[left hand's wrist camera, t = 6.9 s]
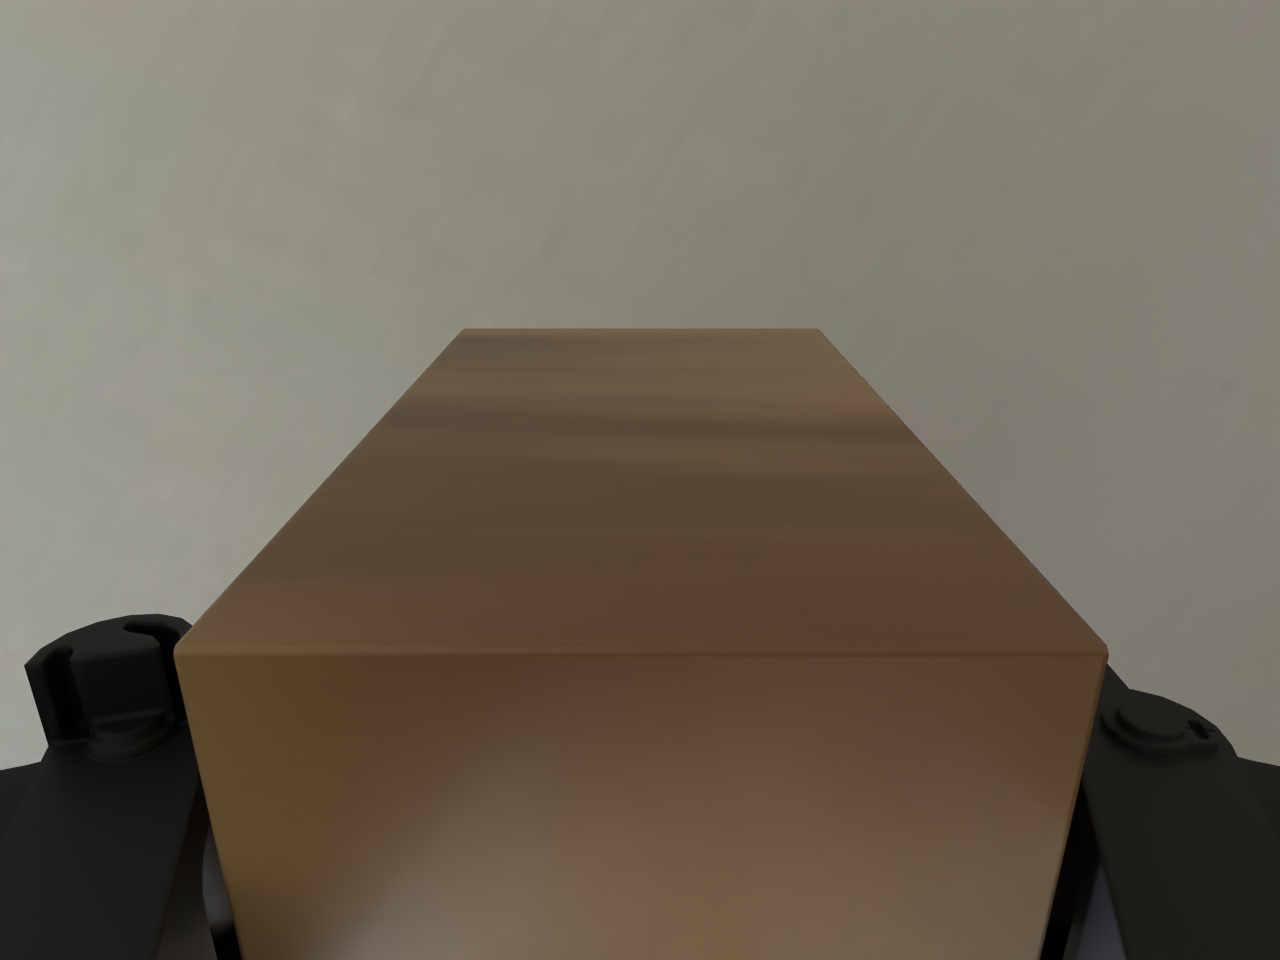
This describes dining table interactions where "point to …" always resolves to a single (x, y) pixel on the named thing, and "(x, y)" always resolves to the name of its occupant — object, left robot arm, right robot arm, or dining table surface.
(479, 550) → the bar
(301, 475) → the dining table surface
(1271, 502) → the dining table surface
